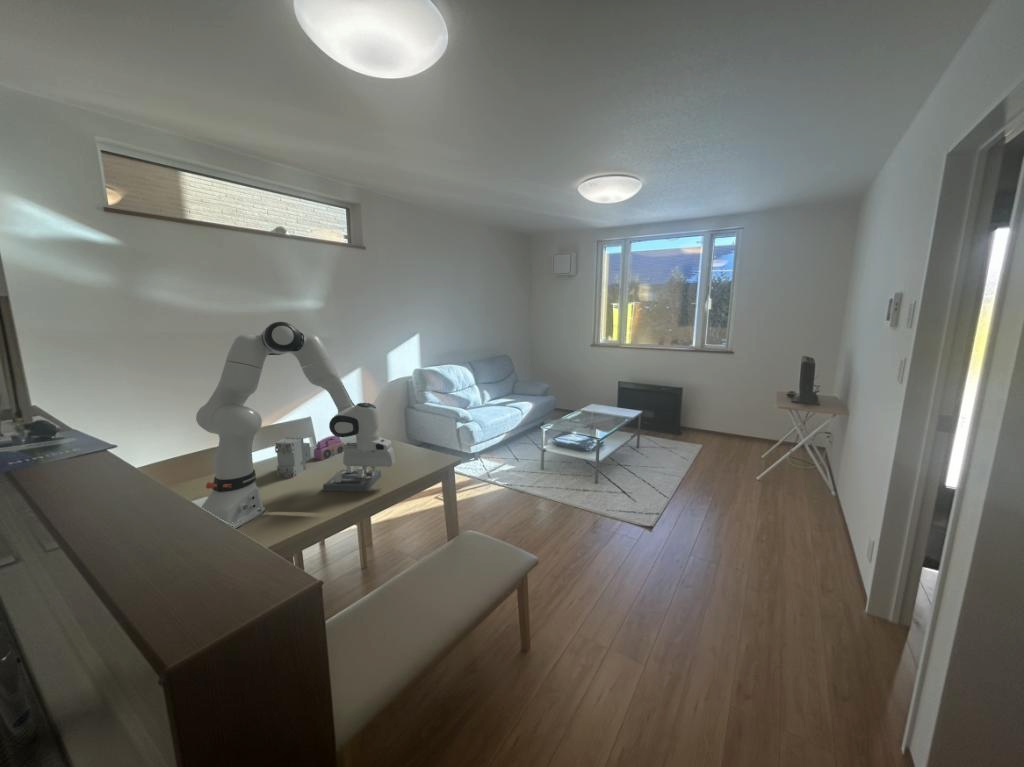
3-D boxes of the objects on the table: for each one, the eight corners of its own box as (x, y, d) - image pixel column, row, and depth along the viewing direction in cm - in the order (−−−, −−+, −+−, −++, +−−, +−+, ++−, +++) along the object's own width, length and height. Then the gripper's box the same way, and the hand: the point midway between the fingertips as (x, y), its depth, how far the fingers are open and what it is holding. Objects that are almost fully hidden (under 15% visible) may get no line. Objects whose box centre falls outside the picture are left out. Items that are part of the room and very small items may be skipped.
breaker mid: (362, 477, 166) (361, 469, 166) (358, 477, 166) (357, 469, 166) (364, 475, 168) (363, 467, 168) (360, 475, 168) (359, 467, 168)
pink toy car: (322, 462, 192) (321, 441, 190) (312, 460, 195) (311, 440, 193) (351, 451, 208) (350, 431, 206) (341, 449, 211) (340, 430, 209)
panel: (366, 491, 160) (365, 485, 159) (323, 491, 160) (323, 484, 160) (381, 476, 175) (380, 470, 175) (342, 475, 176) (341, 469, 176)
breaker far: (351, 472, 171) (350, 464, 171) (346, 472, 172) (346, 464, 171) (353, 470, 173) (352, 463, 173) (349, 470, 174) (348, 463, 173)
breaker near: (340, 482, 162) (339, 473, 161) (335, 482, 162) (335, 473, 161) (342, 480, 164) (341, 472, 163) (338, 480, 164) (337, 471, 163)
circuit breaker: (313, 465, 188) (311, 433, 185) (294, 477, 174) (291, 443, 171) (298, 464, 189) (295, 433, 186) (277, 476, 175) (274, 442, 172)
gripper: (339, 445, 162) (341, 478, 164) (390, 446, 161) (391, 479, 163) (346, 440, 168) (348, 472, 170) (395, 441, 167) (397, 473, 169)
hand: (370, 475), depth 167 cm, fingers closed
